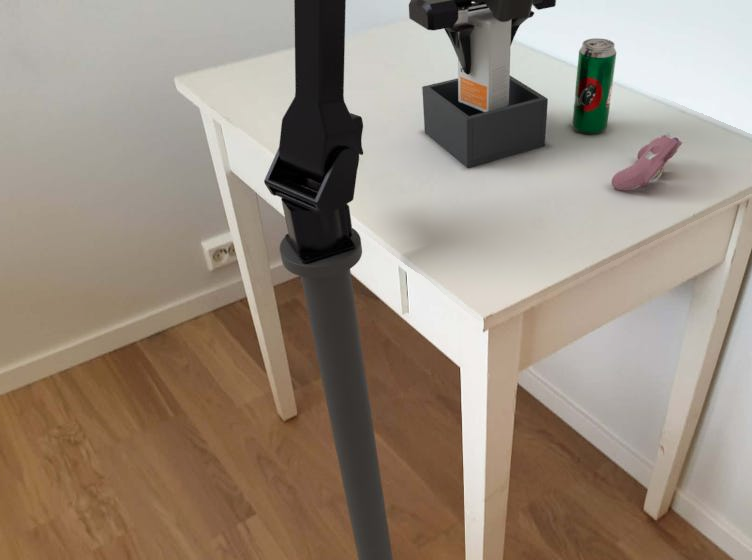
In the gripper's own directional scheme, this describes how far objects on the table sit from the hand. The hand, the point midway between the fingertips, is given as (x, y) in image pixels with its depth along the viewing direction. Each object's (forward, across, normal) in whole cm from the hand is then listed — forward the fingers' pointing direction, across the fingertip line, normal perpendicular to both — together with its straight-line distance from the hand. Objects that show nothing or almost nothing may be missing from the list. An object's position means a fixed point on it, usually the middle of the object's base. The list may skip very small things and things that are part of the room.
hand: (483, 69), depth 97 cm
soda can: (+10, +15, -5) cm, 19 cm away
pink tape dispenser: (+10, +12, -21) cm, 26 cm away
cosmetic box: (+5, 0, 0) cm, 5 cm away
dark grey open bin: (+10, 0, 0) cm, 10 cm away
